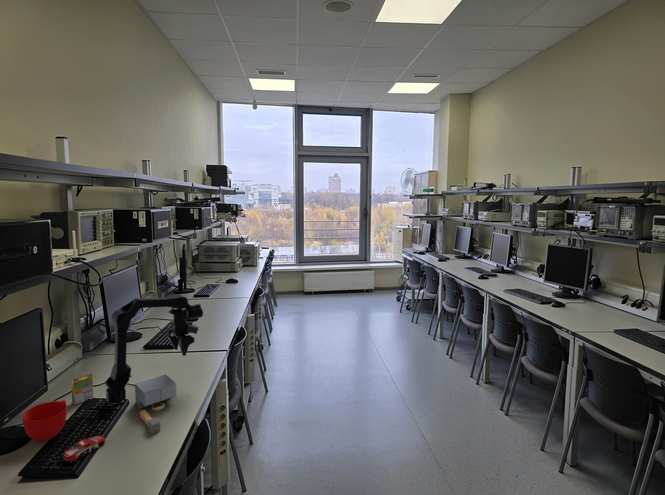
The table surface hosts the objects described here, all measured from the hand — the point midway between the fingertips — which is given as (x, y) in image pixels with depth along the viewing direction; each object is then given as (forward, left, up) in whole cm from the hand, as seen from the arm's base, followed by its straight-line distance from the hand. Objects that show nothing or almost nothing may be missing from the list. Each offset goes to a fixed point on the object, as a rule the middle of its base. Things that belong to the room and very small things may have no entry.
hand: (180, 352), depth 181 cm
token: (-16, -16, -15) cm, 27 cm away
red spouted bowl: (-52, -8, -15) cm, 55 cm away
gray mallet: (-23, -25, -15) cm, 37 cm away
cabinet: (-16, -12, -15) cm, 25 cm away
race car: (-45, -28, -15) cm, 55 cm away
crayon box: (-38, +10, -15) cm, 42 cm away
